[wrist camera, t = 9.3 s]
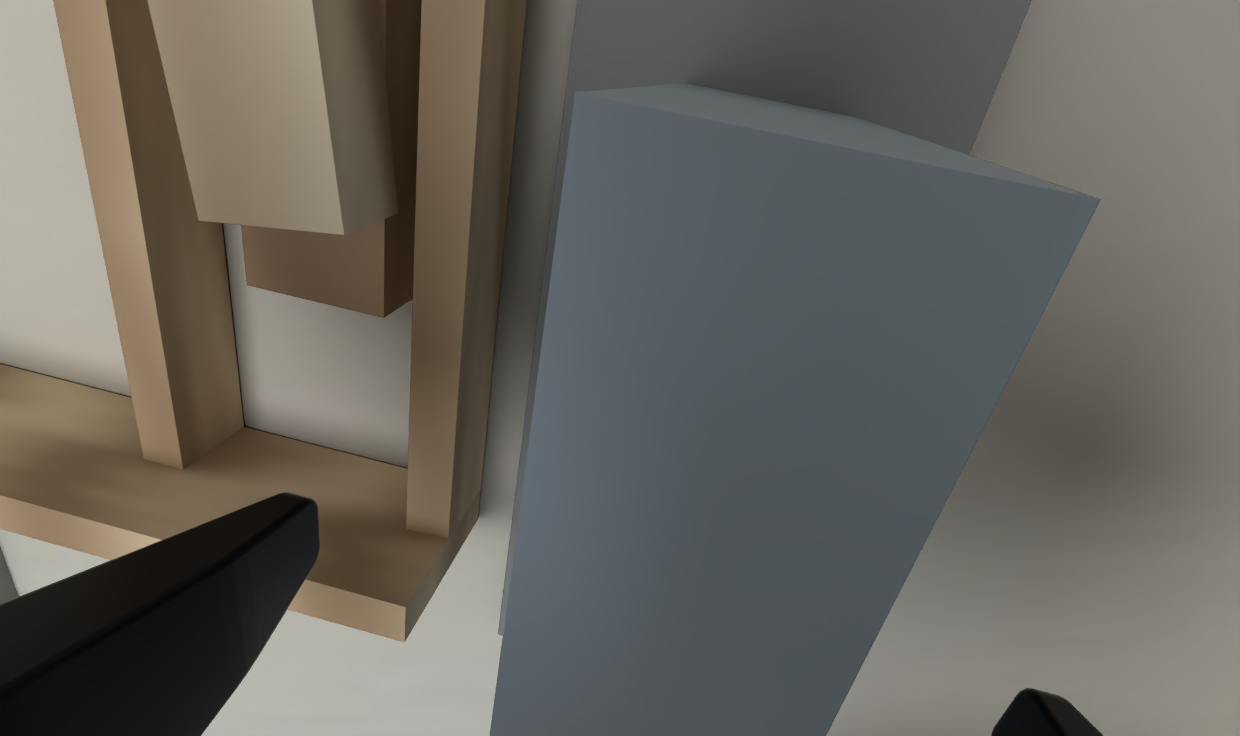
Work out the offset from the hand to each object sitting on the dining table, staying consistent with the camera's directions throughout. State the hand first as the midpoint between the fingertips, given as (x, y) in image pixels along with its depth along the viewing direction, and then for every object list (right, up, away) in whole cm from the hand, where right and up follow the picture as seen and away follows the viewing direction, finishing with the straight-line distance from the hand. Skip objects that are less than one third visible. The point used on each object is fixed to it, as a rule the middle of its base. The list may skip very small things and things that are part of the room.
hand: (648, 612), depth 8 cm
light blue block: (+1, +2, +6) cm, 6 cm away
